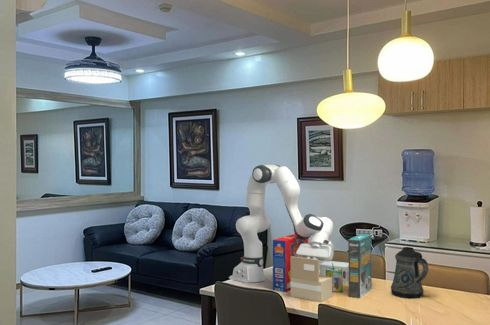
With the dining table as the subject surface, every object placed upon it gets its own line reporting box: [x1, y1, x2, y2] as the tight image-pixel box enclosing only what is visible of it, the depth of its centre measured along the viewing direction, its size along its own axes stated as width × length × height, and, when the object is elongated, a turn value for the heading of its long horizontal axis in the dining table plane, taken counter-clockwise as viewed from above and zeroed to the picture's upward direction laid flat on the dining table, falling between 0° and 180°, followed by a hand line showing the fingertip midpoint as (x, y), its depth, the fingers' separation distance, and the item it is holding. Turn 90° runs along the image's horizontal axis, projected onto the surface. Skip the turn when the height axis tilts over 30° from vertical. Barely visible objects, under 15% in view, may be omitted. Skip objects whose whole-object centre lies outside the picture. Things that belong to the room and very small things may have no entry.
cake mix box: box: [347, 233, 373, 299], centre depth 259 cm, size 22×6×30 cm, turn 150°
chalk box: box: [326, 263, 344, 293], centre depth 265 cm, size 9×9×15 cm
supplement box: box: [319, 260, 349, 283], centre depth 291 cm, size 17×13×9 cm
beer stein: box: [390, 246, 429, 300], centre depth 254 cm, size 16×19×25 cm
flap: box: [291, 256, 320, 282], centre depth 246 cm, size 16×1×11 cm, turn 53°
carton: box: [290, 274, 333, 303], centre depth 252 cm, size 18×12×10 cm
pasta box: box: [272, 233, 309, 293], centre depth 274 cm, size 28×8×28 cm, turn 146°
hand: (309, 265), depth 251 cm, fingers closed
